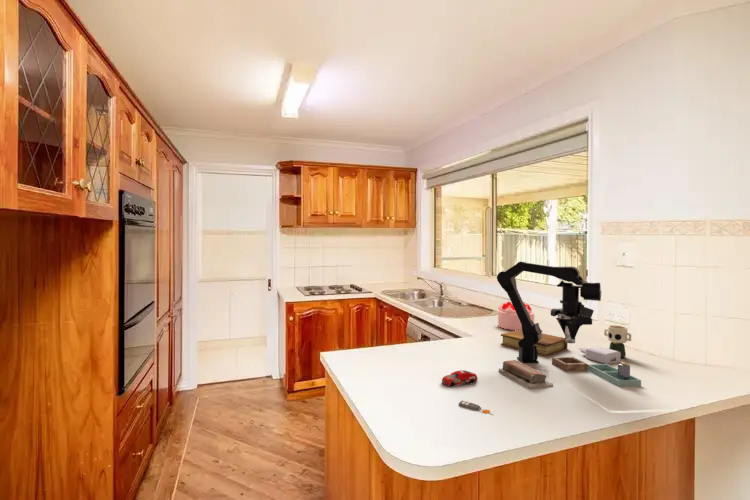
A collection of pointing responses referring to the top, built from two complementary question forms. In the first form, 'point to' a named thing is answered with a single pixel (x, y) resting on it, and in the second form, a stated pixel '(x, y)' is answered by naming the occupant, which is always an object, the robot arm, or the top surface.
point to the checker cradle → (569, 364)
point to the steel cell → (568, 336)
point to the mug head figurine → (617, 338)
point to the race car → (459, 378)
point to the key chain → (473, 406)
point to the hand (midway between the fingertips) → (569, 338)
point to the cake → (511, 316)
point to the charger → (602, 355)
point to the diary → (544, 345)
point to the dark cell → (623, 371)
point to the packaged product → (524, 375)
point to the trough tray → (612, 375)
